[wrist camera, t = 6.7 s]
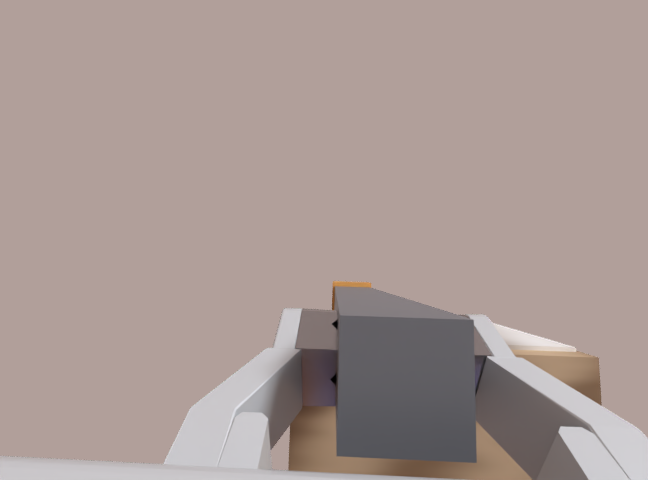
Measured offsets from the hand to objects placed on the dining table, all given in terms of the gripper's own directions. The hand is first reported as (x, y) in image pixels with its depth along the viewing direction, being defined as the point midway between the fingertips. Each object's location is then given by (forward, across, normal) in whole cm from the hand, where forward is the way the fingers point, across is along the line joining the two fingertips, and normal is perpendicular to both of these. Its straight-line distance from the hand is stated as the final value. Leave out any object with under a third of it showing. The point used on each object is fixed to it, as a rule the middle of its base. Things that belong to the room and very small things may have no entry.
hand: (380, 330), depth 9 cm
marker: (+5, 0, -5) cm, 7 cm away
